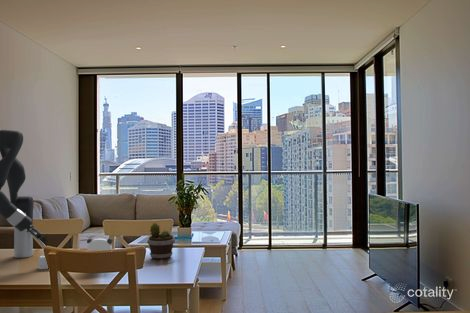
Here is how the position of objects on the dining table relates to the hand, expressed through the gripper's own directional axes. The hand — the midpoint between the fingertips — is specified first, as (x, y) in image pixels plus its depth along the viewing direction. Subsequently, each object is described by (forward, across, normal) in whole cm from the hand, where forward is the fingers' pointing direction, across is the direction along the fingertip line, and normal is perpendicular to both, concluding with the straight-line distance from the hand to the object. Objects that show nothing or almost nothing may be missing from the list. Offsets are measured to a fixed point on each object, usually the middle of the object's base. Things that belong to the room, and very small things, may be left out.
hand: (46, 242), depth 216 cm
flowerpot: (+47, -16, -30) cm, 58 cm away
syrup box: (+3, -3, +9) cm, 10 cm away
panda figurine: (+23, -23, -6) cm, 33 cm away
